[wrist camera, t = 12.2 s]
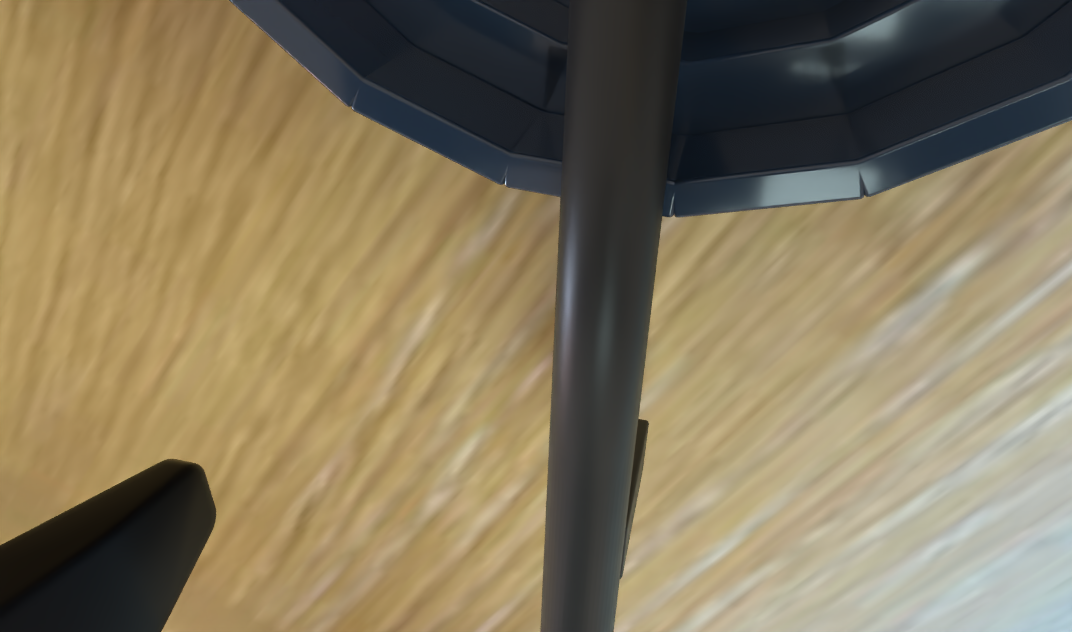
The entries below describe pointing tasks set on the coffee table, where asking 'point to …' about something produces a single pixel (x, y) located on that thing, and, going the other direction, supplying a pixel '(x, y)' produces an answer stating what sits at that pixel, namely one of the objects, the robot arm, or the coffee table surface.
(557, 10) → the bowl
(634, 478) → the ladle
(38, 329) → the coffee table surface
